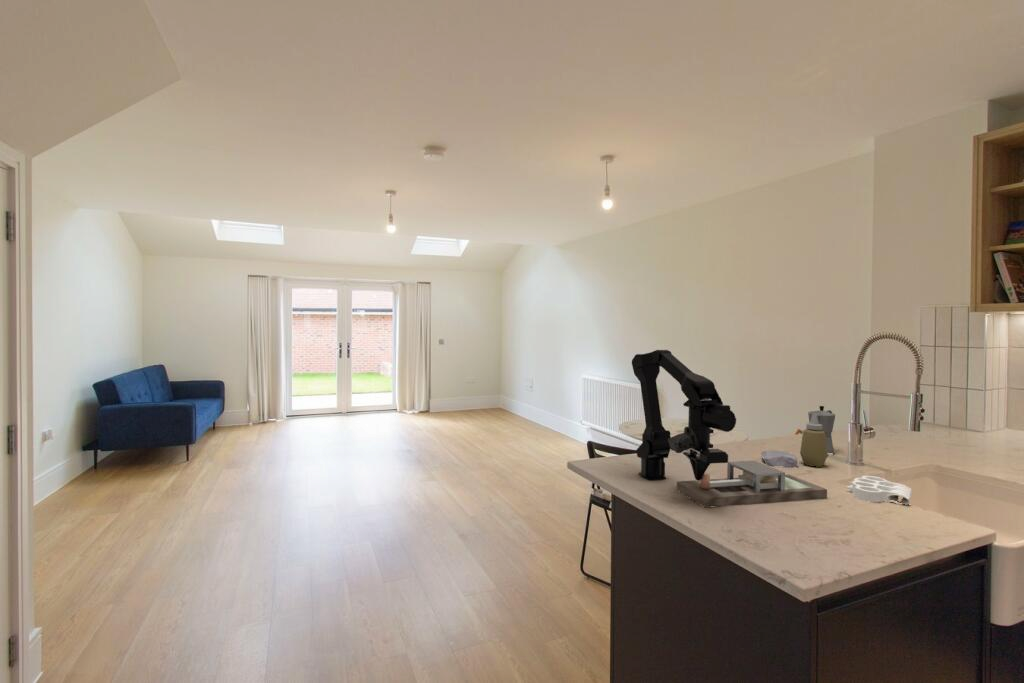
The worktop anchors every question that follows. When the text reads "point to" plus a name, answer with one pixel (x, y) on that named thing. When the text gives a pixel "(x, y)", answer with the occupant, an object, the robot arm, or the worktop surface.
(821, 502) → the worktop surface
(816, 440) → the squeeze bottle
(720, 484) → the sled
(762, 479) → the block
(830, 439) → the coffeepot
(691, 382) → the robot arm
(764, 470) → the tunnel
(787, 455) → the stone block
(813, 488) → the deck
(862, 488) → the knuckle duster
